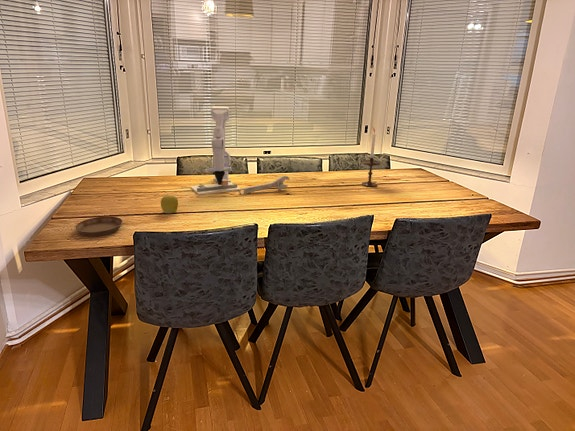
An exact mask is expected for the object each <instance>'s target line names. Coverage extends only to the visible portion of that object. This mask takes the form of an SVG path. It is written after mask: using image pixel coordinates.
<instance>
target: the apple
mask: <svg viewBox="0 0 575 431" xmlns="http://www.w3.org/2000/svg"><path fill="white" fill-rule="evenodd" d="M160 208H161V210H162V212H164V213H165V214H175V213H176V212H177V210H178V208H179V200H178V198H177V197H176V195H168V194H166V195H164V196H162V198H161V200H160Z"/></svg>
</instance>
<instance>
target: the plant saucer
mask: <svg viewBox="0 0 575 431" xmlns="http://www.w3.org/2000/svg"><path fill="white" fill-rule="evenodd" d="M123 223H124V222H123V219H122V218H120V217H118V216H108V215H107V216H105V215H104V216H96V217H91V218H88V219H84V220H82V221H80V222H78V223H77V224H76V225H75V230H77V231H78V233H80V234H82V235H83V236H87V237H101V236H107V235H110V234H113V233H115V232H117V231H118V230H119V229H120V228H121V226H122V224H123Z"/></svg>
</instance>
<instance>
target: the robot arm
mask: <svg viewBox="0 0 575 431" xmlns="http://www.w3.org/2000/svg"><path fill="white" fill-rule="evenodd" d="M210 109H211V110H210V111H211V118H212V121H213V122H215V127H214V128H213V132H212V133H213V135H212V136H213V137H212V139H211V149H212V154H213V155H212V156H213V157H212V158H213V159H212V160H213V167H210V168H205V174H209V173H213V174H214V178H213V181H215V182H217V183H218V185H221V182H222V179H226V180H228V182H231V180H230V179H229V172H232V171H233V167H232V166H231V154H230V152H229V151H228V150H226V123H227V122H229V120H230V108H229V106H211V108H210Z"/></svg>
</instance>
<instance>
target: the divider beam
mask: <svg viewBox="0 0 575 431" xmlns="http://www.w3.org/2000/svg"><path fill="white" fill-rule="evenodd" d="M232 184H233V185H228V186H214V187H205V186H204V185H205V184H202V183H199V184H198V185H200V188H197V192H200V191H209V190H218V189H227V188H236V187H238V184H236V183H232Z"/></svg>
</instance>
